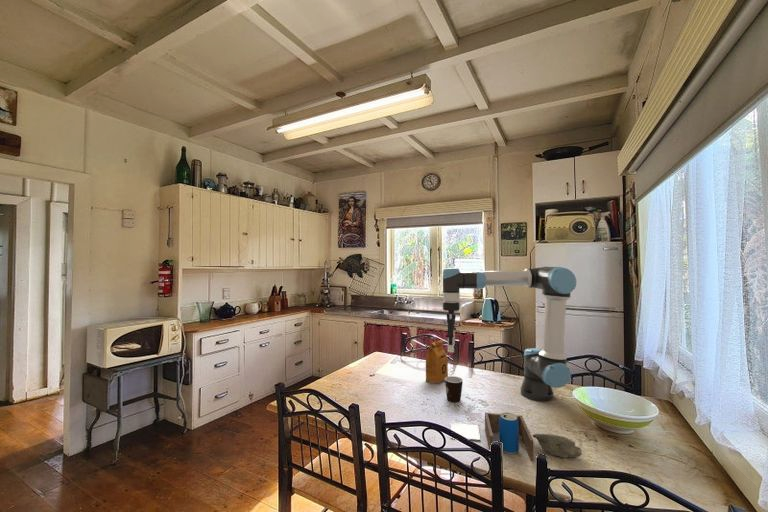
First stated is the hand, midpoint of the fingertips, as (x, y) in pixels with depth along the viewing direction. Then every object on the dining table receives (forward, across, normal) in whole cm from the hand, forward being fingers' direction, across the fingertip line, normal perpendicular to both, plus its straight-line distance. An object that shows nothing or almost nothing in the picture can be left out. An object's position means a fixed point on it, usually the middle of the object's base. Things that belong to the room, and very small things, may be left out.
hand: (451, 348), depth 151 cm
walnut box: (+28, +26, +21) cm, 43 cm away
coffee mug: (+28, -11, +1) cm, 30 cm away
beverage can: (+28, +29, +21) cm, 45 cm away
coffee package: (+28, -33, -9) cm, 44 cm away
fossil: (+28, +26, +37) cm, 53 cm away
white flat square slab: (+28, +20, +6) cm, 35 cm away
